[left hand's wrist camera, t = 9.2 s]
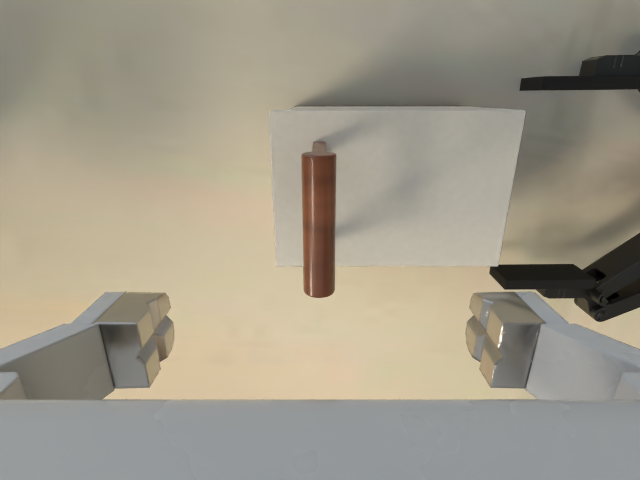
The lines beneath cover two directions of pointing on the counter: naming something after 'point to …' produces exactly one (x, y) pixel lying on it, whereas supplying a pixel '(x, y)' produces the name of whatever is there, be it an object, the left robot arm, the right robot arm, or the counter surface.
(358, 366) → the counter surface
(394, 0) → the counter surface
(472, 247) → the lid
